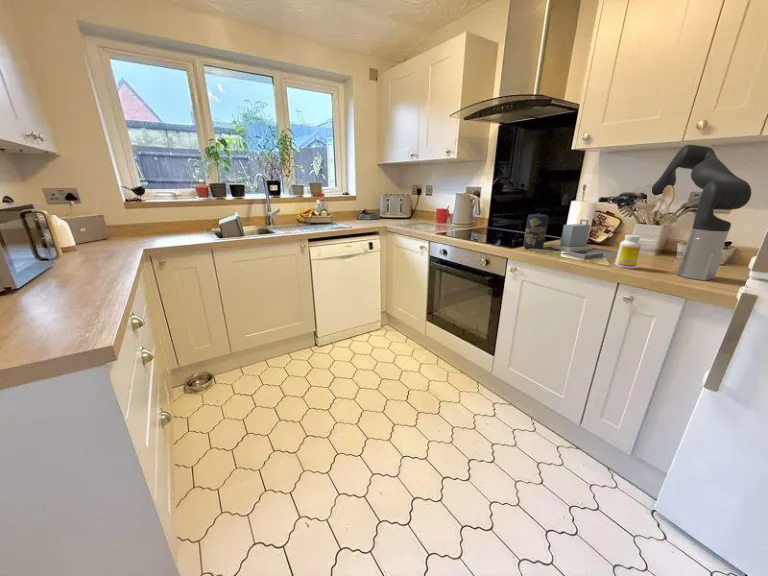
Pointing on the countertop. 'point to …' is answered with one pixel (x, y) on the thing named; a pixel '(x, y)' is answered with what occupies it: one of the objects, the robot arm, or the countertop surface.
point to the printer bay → (591, 254)
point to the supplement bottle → (628, 252)
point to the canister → (535, 231)
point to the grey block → (575, 235)
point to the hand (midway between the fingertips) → (608, 200)
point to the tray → (572, 247)
